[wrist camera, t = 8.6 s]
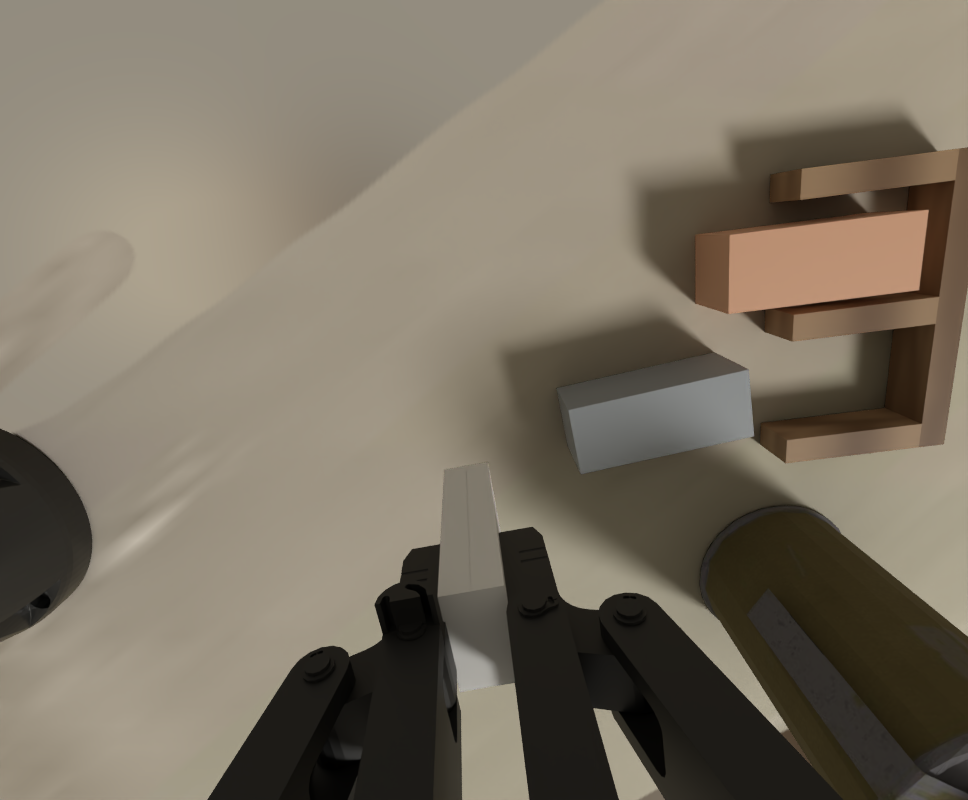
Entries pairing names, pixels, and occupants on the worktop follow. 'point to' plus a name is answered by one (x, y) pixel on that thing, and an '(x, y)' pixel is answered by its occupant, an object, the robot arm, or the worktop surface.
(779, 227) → the terracotta bar
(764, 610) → the canister
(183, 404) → the worktop surface
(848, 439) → the comb rack
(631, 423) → the slate bar
